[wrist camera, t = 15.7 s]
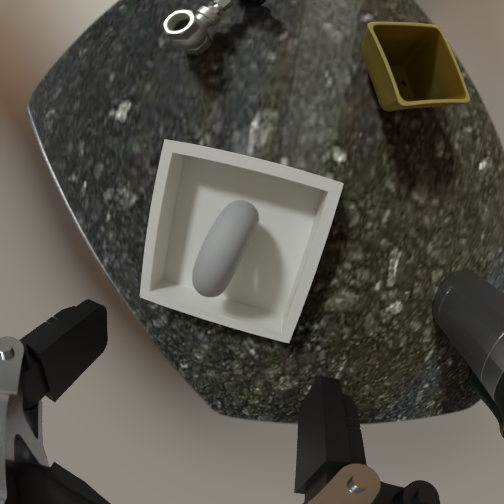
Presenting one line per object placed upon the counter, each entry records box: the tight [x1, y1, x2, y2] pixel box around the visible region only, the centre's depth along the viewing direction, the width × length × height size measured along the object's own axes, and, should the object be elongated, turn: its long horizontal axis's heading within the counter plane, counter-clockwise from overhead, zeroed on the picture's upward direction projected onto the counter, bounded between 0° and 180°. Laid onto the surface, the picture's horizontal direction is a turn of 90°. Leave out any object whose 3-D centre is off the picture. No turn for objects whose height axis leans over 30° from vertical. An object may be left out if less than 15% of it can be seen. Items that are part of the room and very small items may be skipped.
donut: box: [192, 200, 259, 297], centre depth 27 cm, size 10×4×10 cm, turn 155°
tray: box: [140, 139, 344, 343], centre depth 30 cm, size 18×18×5 cm
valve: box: [163, 0, 266, 55], centre depth 22 cm, size 7×7×12 cm
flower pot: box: [362, 22, 470, 111], centre depth 21 cm, size 9×9×9 cm
